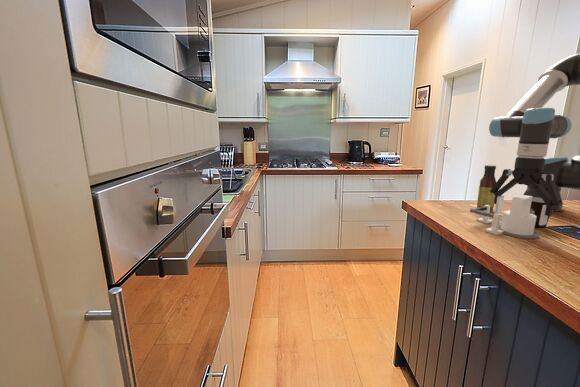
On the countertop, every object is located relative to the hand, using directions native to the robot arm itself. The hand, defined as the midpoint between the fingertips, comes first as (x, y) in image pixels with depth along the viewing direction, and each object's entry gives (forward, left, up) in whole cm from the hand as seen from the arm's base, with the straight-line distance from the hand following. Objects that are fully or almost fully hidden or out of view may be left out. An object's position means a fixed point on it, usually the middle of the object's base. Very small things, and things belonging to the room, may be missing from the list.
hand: (518, 218), depth 97 cm
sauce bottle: (-19, -23, -5) cm, 30 cm away
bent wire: (+3, -8, 0) cm, 8 cm away
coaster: (0, 0, -5) cm, 5 cm away
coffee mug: (-15, -3, -5) cm, 16 cm away
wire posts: (+2, -8, -5) cm, 10 cm away
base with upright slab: (0, 0, -4) cm, 5 cm away
